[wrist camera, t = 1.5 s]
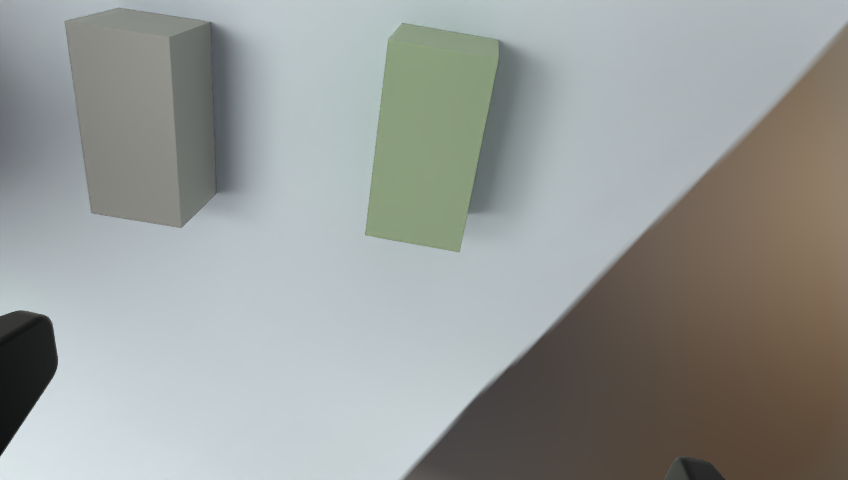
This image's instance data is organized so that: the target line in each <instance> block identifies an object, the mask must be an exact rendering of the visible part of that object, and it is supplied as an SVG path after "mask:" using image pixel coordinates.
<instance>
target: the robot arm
mask: <svg viewBox="0 0 848 480" xmlns="http://www.w3.org/2000/svg"><path fill="white" fill-rule="evenodd" d="M57 365H58V356H57V349H56V343H55V336H54V330H53V324H52V321H51V320H50V319H49V317H47V316H45V315H42V314H37V313H33V312H28V311H21V310H20V311H15V312H11V313H8V314H5V315H2V316H0V456H1V455H2V453H3V452H4V450H5V449H6V447H7V446H8V444H9V443H10V441H11V440H12V438H13V437H14V435H15V434H16V432H17V431H18V429H19V428H20V426H21V425H22V423H23V422H24V420H25V419H26V417H27V416H28V414H29V413H30V411H31V410H32V408H33V407H34V405H35V404H36V402H37V401H38V399H39V398H40V396H41V395H42V393H43V392H44V390H45V389H46V387H47V386H48V384H49V383H50V381H51V380H52V378H53V376H54V375H55V372H56V369H57ZM664 480H725V479H724V478H723V477H722V475H721V474H720V473H719V472H718V471H717V470H716V469H715V468H714V466H712V465H711V464H710V463H709V462H706V461H704V460H699V459H695V458H690V457H685V456H679V457H677V458H676V459H675V460H674V462H673V463H672V465H671V467H670V469H669V471H668V473H667V475H666V477H665V479H664Z"/></svg>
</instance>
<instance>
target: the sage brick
mask: <svg viewBox="0 0 848 480" xmlns="http://www.w3.org/2000/svg"><path fill="white" fill-rule="evenodd" d="M498 60H499V40H496V39H491V38H485V37H479V36H473V35H468V34H462V33H456V32H451V31H445V30H439V29H433V28H428V27H422V26H416V25H411V24H405V23H402V24H401V25H400V26H399V28H398V29H397V30H396V31H395V32H394V33H393V35H392V36H391V37H390V38H389V39H388V46H387V54H386V63H385V71H384V80H383V88H382V97H381V105H380V114H379V122H378V131H377V139H376V148H375V156H374V164H373V173H372V181H371V190H370V198H369V207H368V215H367V224H366V232H365V235H367V236H373V237H378V238H384V239H389V240H395V241H400V242H406V243H411V244H417V245H422V246H428V247H433V248H439V249H444V250H450V251H455V252H460V248H461V243H462V238H463V233H464V228H465V223H466V218H467V213H468V208H469V203H470V198H471V193H472V188H473V184H474V179H475V174H476V169H477V164H478V159H479V154H480V149H481V144H482V139H483V134H484V129H485V124H486V119H487V114H488V110H489V105H490V100H491V95H492V90H493V85H494V80H495V75H496V70H497V65H498Z"/></svg>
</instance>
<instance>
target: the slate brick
mask: <svg viewBox="0 0 848 480" xmlns="http://www.w3.org/2000/svg"><path fill="white" fill-rule="evenodd" d="M65 27H66V34H67V41H68V48H69V56H70V63H71V70H72V77H73V84H74V91H75V99H76V106H77V113H78V120H79V127H80V135H81V142H82V149H83V156H84V163H85V170H86V178H87V185H88V192H89V199H90V206H91V213H94V214H100V215H106V216H112V217H118V218H124V219H130V220H136V221H142V222H148V223H154V224H160V225H166V226H172V227H178V228H182V227H183V226H184V225H185V224H186V223H187V222H188V221H189V220H190V219H191V218H192V217H193V216H194V215H195V214H196V213H197V212H198V211H199V210H200V209H201V208H202V207H203V206H204V205H205V204H206V203H207V202H208V201H209V200H210V199H211V198H212V197H213V196H214V195H215V194H216V170H215V140H214V110H213V80H212V50H211V22H208V21H202V20H195V19H189V18H182V17H176V16H169V15H163V14H156V13H149V12H143V11H136V10H130V9H123V8H116V9H112V10H108V11H104V12H100V13H96V14H92V15H88V16H84V17H80V18H76V19H72V20H67V21H65Z"/></svg>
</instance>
